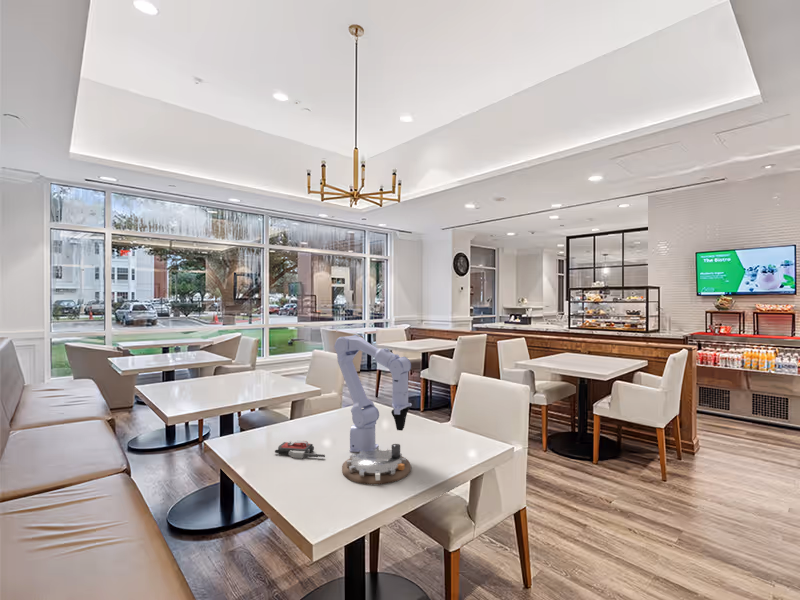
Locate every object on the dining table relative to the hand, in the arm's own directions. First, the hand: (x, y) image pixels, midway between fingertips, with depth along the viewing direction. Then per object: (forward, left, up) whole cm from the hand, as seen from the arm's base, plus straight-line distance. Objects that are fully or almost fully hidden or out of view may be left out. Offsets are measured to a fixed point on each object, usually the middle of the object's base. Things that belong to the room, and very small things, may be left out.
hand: (400, 429), depth 144 cm
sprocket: (-7, -10, -9) cm, 15 cm away
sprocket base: (-6, -10, -10) cm, 16 cm away
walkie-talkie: (-37, -2, -11) cm, 38 cm away
